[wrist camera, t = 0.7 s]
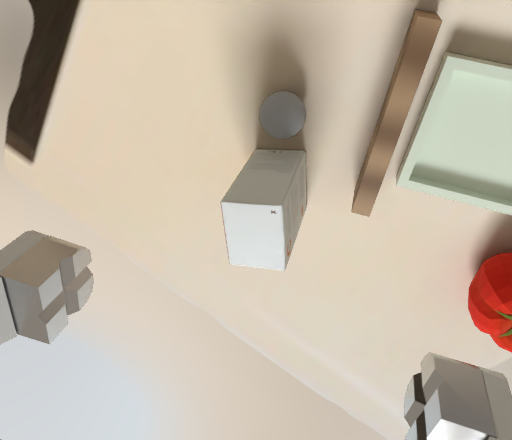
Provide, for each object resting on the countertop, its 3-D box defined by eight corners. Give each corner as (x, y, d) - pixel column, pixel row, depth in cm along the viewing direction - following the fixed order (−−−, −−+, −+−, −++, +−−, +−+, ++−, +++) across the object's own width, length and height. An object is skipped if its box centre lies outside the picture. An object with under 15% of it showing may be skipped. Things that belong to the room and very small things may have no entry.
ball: (269, 81, 46) (257, 93, 42) (313, 91, 45) (306, 105, 41) (262, 123, 49) (251, 139, 44) (304, 133, 48) (296, 150, 44)
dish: (445, 51, 40) (447, 56, 38) (601, 84, 38) (610, 90, 36) (395, 177, 48) (396, 185, 46) (522, 209, 46) (527, 219, 44)
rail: (415, 9, 38) (417, 16, 34) (436, 13, 38) (442, 20, 34) (354, 190, 50) (351, 211, 46) (370, 195, 50) (369, 216, 46)
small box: (254, 147, 51) (219, 200, 40) (306, 149, 49) (283, 204, 38) (259, 205, 55) (228, 266, 44) (307, 208, 53) (286, 272, 43)
